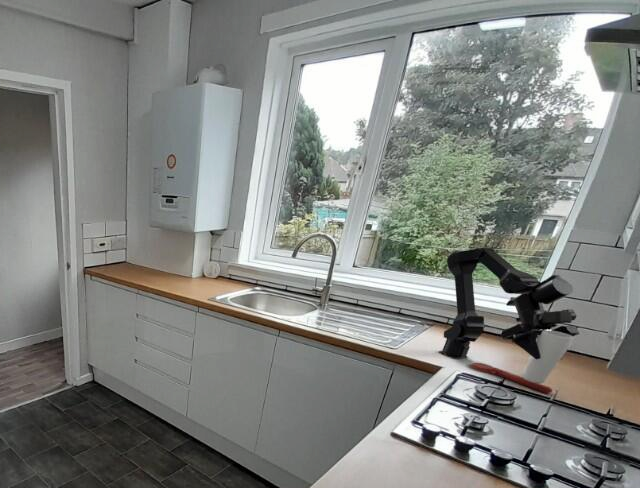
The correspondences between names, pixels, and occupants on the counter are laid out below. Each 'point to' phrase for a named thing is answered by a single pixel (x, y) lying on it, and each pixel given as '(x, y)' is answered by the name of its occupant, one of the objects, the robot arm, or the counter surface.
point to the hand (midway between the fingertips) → (549, 359)
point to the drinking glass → (547, 355)
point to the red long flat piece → (510, 377)
